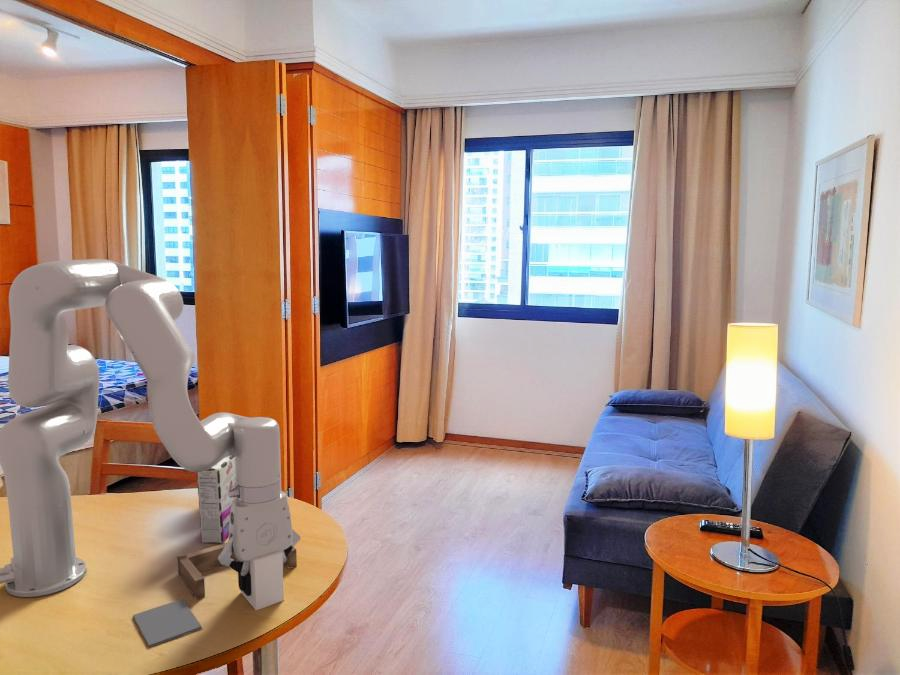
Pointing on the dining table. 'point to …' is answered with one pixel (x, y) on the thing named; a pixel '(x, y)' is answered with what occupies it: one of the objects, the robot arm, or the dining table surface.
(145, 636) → the rubber mat
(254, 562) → the white box
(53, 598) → the dining table surface
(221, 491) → the candy bar box
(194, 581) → the frame
